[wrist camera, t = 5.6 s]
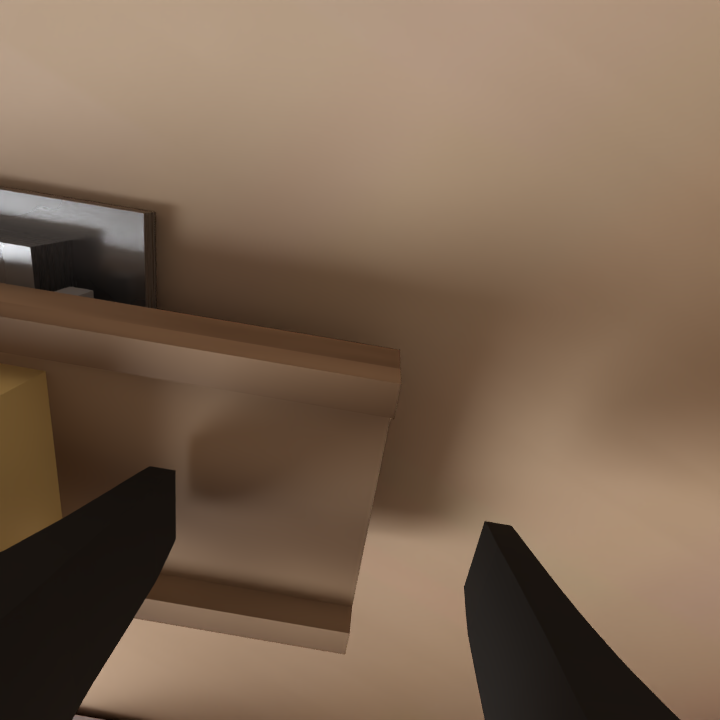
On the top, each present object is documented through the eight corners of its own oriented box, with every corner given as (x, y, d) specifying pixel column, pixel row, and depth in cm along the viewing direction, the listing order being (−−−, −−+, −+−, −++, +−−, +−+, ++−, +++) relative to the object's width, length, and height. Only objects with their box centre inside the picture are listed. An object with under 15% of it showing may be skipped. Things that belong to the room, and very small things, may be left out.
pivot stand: (160, 553, 16) (130, 600, 15) (-56, 516, 17) (-112, 559, 15) (154, 212, 12) (112, 217, 10) (-140, 163, 12) (-236, 159, 10)
